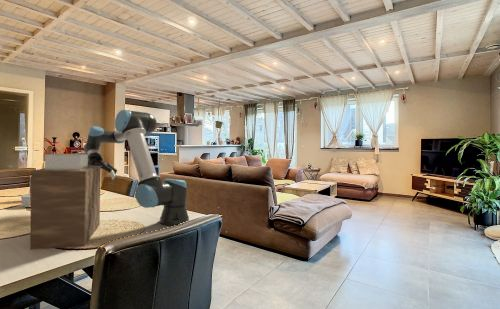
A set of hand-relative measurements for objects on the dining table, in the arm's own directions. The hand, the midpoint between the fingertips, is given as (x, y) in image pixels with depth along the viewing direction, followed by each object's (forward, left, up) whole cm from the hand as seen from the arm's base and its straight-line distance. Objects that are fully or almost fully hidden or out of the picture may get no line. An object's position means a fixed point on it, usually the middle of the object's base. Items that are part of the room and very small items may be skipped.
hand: (101, 175), depth 148 cm
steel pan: (-12, +21, +7) cm, 25 cm away
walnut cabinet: (-16, +26, -23) cm, 38 cm away
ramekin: (+57, +6, -24) cm, 62 cm away
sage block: (-19, +28, +9) cm, 35 cm away
